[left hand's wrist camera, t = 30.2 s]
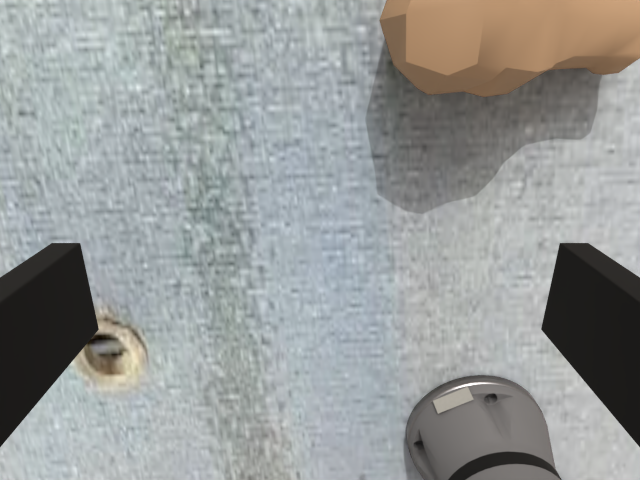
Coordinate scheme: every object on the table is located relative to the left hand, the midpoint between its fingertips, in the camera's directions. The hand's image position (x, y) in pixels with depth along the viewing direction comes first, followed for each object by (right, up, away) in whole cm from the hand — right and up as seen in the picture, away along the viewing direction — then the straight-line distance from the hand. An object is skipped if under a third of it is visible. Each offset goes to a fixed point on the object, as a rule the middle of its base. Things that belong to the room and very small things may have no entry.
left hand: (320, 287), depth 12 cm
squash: (+14, +19, +23) cm, 33 cm away
